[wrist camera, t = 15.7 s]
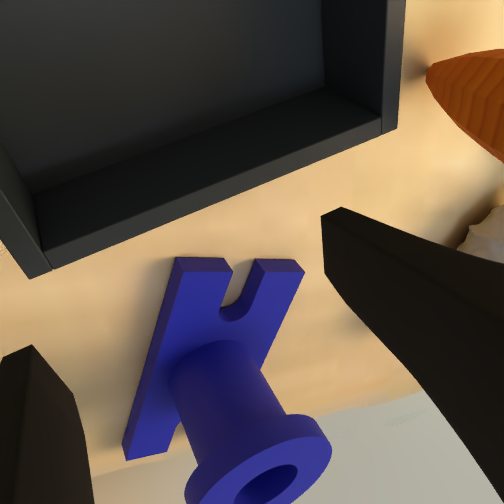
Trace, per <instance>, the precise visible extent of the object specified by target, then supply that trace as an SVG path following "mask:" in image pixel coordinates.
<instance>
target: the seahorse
mask: <svg viewBox="0 0 504 504" xmlns="http://www.w3.org/2000/svg"><path fill="white" fill-rule="evenodd" d="M456 250H458V251H461V252H464V253H467V254H470V255H474V256H477V257H481V258H484V259H488V260H492V261H496V262H500V263H504V205H502V206H498V207H495V208H493V209H492V211H491V213H490V214H489V216H488V217H486V218H485V219H484V220H483V221H482V222H481V223H480V224H478V225H470V226H469V233H468V234H467V237H466V240H465V241H464V243H461V244H460V245H459V246H458V248H457V249H456Z"/></svg>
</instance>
